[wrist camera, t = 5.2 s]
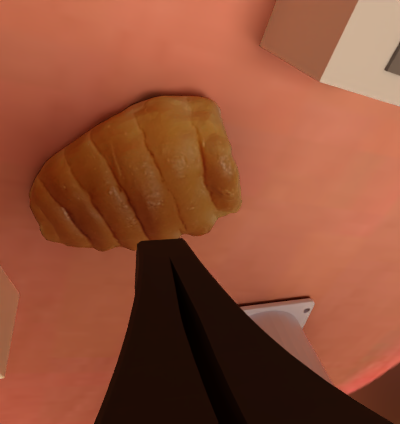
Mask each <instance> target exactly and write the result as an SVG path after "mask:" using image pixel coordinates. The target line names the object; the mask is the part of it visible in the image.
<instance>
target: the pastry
mask: <svg viewBox="0 0 400 424" xmlns="http://www.w3.org/2000/svg"><path fill="white" fill-rule="evenodd" d="M231 150H232V148H231V144H230V142H229V140H228V138H227V134H226V131H225V127H224V124H223V120H222V117H221V111H220V108H219V107H218V105H217V104H216V103H215V102H214V101H213V100H211V99H208V98H205V97H200V96H158V97H154V98H151V99H148V100H145V101H142V102H139V103H136V104H133V105H131V106H130V107H128V108H127V109H125V110H124V111H122V112H121V113H119V114H116V115H114V116H112V117H110V118H109V119H107V120H106V121H104V122H102V123H100V124H98V125H96V126H95V127H94V128H92V129H91V130H89V131H88V132H86V133H85V134H83V135H82V136H81V137H79V138H78V139H77V140H75V141H74V142H72V143H71V144H69V145H68V146H66V147H65V148H63V149H62V150H60V151H59V152H58V153H56V154H55V155H53V156H52V157H51V158H50V159H49V160H47V162H46V163H45V164H44V165H43V167H42V169H41V170H40V172H39V174H38V175H37V176H36V178H35V180H34V183H33V185H32V188H31V190H30V193H29V197H30V208H31V210H32V212H33V214H34V216H35V218H36V220H37V221H38V223H39V226H40V231H41V233H42V235H43V236H44V237H45V238H46V240H49V241H53V242H58V243H63V244H65V245H67V246H72V247H86V248H95V249H97V250H98V251H102V252H104V251H107V250H109V249H112V248H114V247H125V248H128V249H130V250H133V251H135V250H137V244H138V243H139V242H140V241H145V240H162V239H178V238H179V237H180V236H181V235H182V234H189V235H192V236H201V235H203V234H206V233H208V232H209V231H210V230H211V228H212V227H213V225H214V224H215V222H216V220H217V219H218V218H219V217H222V216H226V215H228V214H230V213H236V212H237V211H238V210H239V209H240V207H241V204H242V200H241V187H240V180H239V172H238V168H237V165H236V163H235V161H234V159H233V157H232V154H231Z"/></svg>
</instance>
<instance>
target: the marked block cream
mask: <svg viewBox="0 0 400 424" xmlns="http://www.w3.org/2000/svg"><path fill="white" fill-rule="evenodd" d="M19 296H20V293H19V292H18V290H17V289H16V287H15V286H14V284H13V283H12V281H11V280H10V279H9V277H8V276H7V274H6V273H5V271H4V270H3V269H2V267H1V266H0V379H2V378H5V373H6V367H7V362H8V356H9V351H10V345H11V340H12V334H13V329H14V323H15V318H16V312H17V307H18V301H19Z"/></svg>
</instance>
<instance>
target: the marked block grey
mask: <svg viewBox="0 0 400 424" xmlns="http://www.w3.org/2000/svg"><path fill="white" fill-rule="evenodd" d="M259 46H260V47H262V48H264V49H265V50H267V51H269V52H270V53H272V54H274V55H275V56H277V57H279V58H280V59H282V60H284V61H285V62H287V63H289V64H290V65H292V66H294V67H295V68H297V69H299V70H300V71H302V72H304V73H305V74H307V75H309V76H310V77H312V78H314V79H315V80H317V81H319V82H322V83H325V84H328V85H331V86H335V87H338V88H341V89H344V90H348V91H351V92H354V93H357V94H361V95H364V96H367V97H370V98H374V99H377V100H380V101H383V102H387V103H390V104H393V105H396V106H400V0H276V3H275V5H274V8H273V11H272V13H271V16H270V19H269V21H268V24H267V27H266V29H265V32H264V35H263V37H262V40H261V43H260V45H259Z"/></svg>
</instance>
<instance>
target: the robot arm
mask: <svg viewBox="0 0 400 424" xmlns="http://www.w3.org/2000/svg"><path fill="white" fill-rule="evenodd" d="M314 304H315V303H314V301H313V300H312V299H311V298H306V299H298V300H290V301H282V302H274V303H266V304H258V305H250V306H242V307H239V306H238V305H237V304H236V303H235V302H234V300H233V299H232V298H231V297H230V296H229V295H228V294H227V293H226V292H225V290H224V289H223V288H222V287H221V286H220V285H219V284H218V282H217V281H216V280H215V279H214V278H213V277H212V275H211V274H210V273H209V272H208V270H207V269H206V268H205V267H204V265H203V264H202V263H201V262H200V260H199V259H198V258H197V256H196V255H195V254H194V252H193V251H192V250H191V248H190V247H189V246H188V244H187V243H186V241H185V240H184V239H182V238H178V239H162V240H145V241H140V242H139V243H138V244H137V252H136V273H135V298H134V303H133V307H132V311H131V315H130V320H129V324H128V328H127V332H126V335H125V339H124V342H123V345H122V349H121V352H120V355H119V358H118V361H117V364H116V367H115V370H114V373H113V376H112V379H111V381H110V384H109V387H108V390H107V392H106V395H105V398H104V400H103V403H102V406H101V408H100V411H99V413H98V415H97V418H96V420H95V423H94V424H393V423H392V422H390V421H388V420H387V419H385V418H383V417H382V416H380V415H378V414H377V413H375V412H373V411H372V410H370V409H368V408H367V407H365V406H364V405H362V404H360V403H359V402H357V401H355V400H354V399H352V398H351V397H349V396H348V395H346V394H345V393H344V392H342V391H341V390H339V389H338V388H336V387H335V386H334V384H333V383H332V381H331V379H330V377H329V376H328V374H327V372H326V370H325V368H324V367H323V365H322V363H321V361H320V360H319V358H318V356H317V354H316V352H315V351H314V349H313V347H312V345H311V344H310V342H309V340H308V338H307V336H306V335H305V333H304V331H303V327H304V325H305V323H306V321H307V319H308V316H309V314H310V312H311V310H312V308H313V306H314Z"/></svg>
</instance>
